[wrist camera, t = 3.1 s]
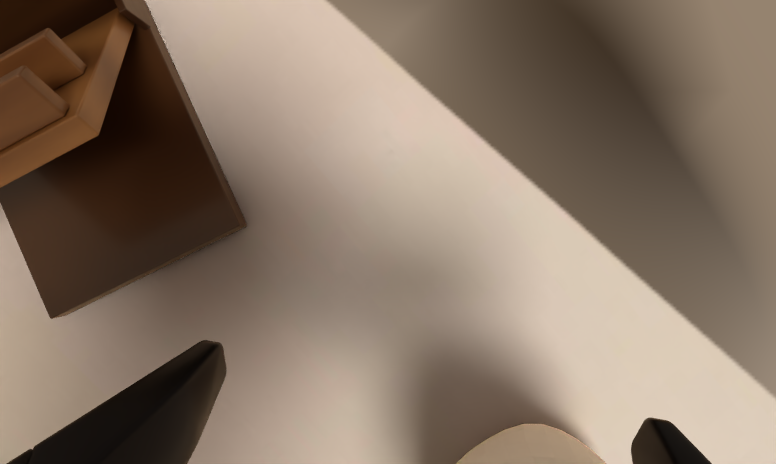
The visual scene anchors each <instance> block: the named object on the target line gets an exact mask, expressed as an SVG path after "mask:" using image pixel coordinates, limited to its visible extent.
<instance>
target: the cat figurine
mask: <svg viewBox="0 0 776 464" xmlns="http://www.w3.org/2000/svg"><path fill="white" fill-rule="evenodd" d="M456 464H606V463H605V462H604V461H603V460H602V459H601V458H600V457H599V456H598V455H597V454H596V453H595V452H594V451H593V450H591V449H590V448H589V447H587V446H586V445H585V444H583V443H582V442H581V441H579V440H578V439H576V438H575V437H573V436H571V435H569V434H567V433H565V432H564V431H562V430H560V429H556V428H553V427H550V426H547V425H544V424H521V425H518V426H515V427H511V428H508V429H505V430H503V431H501V432H499V433H497V434H495V435H494V436H492V437H490V438H488V439H486V440H485V441H483V442H482V443H480V444H479V445H477V446H476V447H474V448H473V449H471V450H470V451H469V452H468V453H467V454H466V455H465V456H463V457H462V458H461V459H460V460H459V461H458V462H457V463H456Z"/></svg>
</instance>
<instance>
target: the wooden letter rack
mask: <svg viewBox="0 0 776 464" xmlns="http://www.w3.org/2000/svg"><path fill="white" fill-rule="evenodd" d="M134 25H135V23H134V22H133V21H131V20H130V19H128V18H127V17H125V16H124V15H123V14H121V13H120V12H119V10H118V8H116V9H114V10H112V11H110V12H109V13H107V14H105V15H103V16H101V17H100V18H98V19H96V20H94V21H93V22H91V23H89V24H87V25H85V26H84V27H82V28H80V29H78V30H76V31H75V32H73V33H71V34H69V35H68V36H66V37H64V38H62V39H60V38H59V37H58V36H57V35H56V34H55V33H54V32H53V31H52V30H51V29H50V28H46V29H44V30H42V31H41V32H39V33H37V34H35V35H34V36H32V37H30V38H28V39H27V40H25V41H23V42H21V43H19V44H18V45H16V46H14V47H12V48H11V49H9V50H7V51H5V52H4V53H2V54H0V188H1V187H3V186H5V185H7V184H8V183H10V182H12V181H14V180H16V179H18V178H20V177H22V176H23V175H25V174H27V173H29V172H31V171H33V170H35V169H37V168H38V167H40V166H42V165H44V164H46V163H48V162H50V161H52V160H53V159H55V158H57V157H59V156H61V155H63V154H65V153H67V152H68V151H70V150H72V149H74V148H76V147H78V146H80V145H82V144H83V143H85V142H87V141H89V140H91V139H93V138H95V137H97V136H98V135H99V133H100V130H101V127H102V124H103V121H104V118H105V115H106V112H107V108H108V105H109V102H110V99H111V96H112V93H113V90H114V87H115V84H116V80H117V77H118V74H119V71H120V68H121V65H122V62H123V59H124V56H125V53H126V49H127V46H128V43H129V40H130V37H131V34H132V31H133V28H134Z"/></svg>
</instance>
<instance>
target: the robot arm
mask: <svg viewBox="0 0 776 464" xmlns="http://www.w3.org/2000/svg"><path fill="white" fill-rule="evenodd" d="M225 376H226V362H225V356H224V350H223V346H222V344H221V343H219V342H214V341H208V340H203V341H201V342H199V343H197V344H196V345H194V346H192V347H191V348H189V349H188V350H186V351H185V352H183V353H181V354H180V355H178V356H177V357H175V358H173V359H172V360H170V361H169V362H167V363H166V364H164V365H162V366H161V367H159V368H158V369H156V370H154V371H153V372H151V373H150V374H148V375H147V376H145V377H143V378H142V379H140V380H139V381H137V382H135V383H134V384H132V385H131V386H129V387H128V388H126V389H124V390H123V391H121V392H120V393H118V394H116V395H115V396H113V397H112V398H110V399H109V400H107V401H105V402H104V403H102V404H101V405H99V406H97V407H96V408H94V409H93V410H91V411H90V412H88V413H86V414H85V415H83V416H82V417H80V418H78V419H77V420H75V421H74V422H72V423H71V424H69V425H67V426H66V427H64V428H63V429H61V430H59V431H58V432H56V433H55V434H53V435H52V436H50V437H48V438H47V439H45V440H44V441H42V442H40V443H39V444H37V445H36V446H35V447H34V448H33V450H32V449H29V450H28V451H26V452H24V453H23V454H21V455H20V456H18V457H16V458H15V459H13V460H12V461H10V462H9V463H7V464H187V463H188V461H189V459H190V457H191V455H192V453H193V451H194V449H195V448H196V446H197V444H198V441H199V439H200V437H201V435H202V432H203V430H204V427H205V425H206V423H207V420H208V418H209V415H210V413H211V411H212V408H213V406H214V404H215V401H216V399H217V396H218V394H219V392H220V389H221V387H222V384H223V382H224V379H225ZM631 454H632V461H633V464H711V462H710V461H709V460H708V459H707V458H706V457H705V456H704V455H703V454H702V453H701V452H700V451H699V450H698V449H697V448H696V447H695V446H694V445H693V444H692V443H691V442H690V441H689V440H688V439H687V438H686V437H685V436H684V435H683V434H682V433H681V432H680V431H679V430H678V428H677V427H676V426H675V425H673V424H672V423H671V422H669V421H667V420H662V419H656V418H647V419H645V421H644V422H643V424H642V426H641V427H640V429H639V431H638V433H637V435H636V436H635V438H634V440H633V442H632V446H631Z"/></svg>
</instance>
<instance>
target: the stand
mask: <svg viewBox="0 0 776 464" xmlns="http://www.w3.org/2000/svg"><path fill="white" fill-rule="evenodd" d="M116 8H118V10H119V12H120V13H121V14H123V15H124V16H125V17H127V18H128V19H130V20H131V21H133V22H134V23H135V25H134V28H133V31H132V34H131V37H130V40H129V43H128V46H127V49H126V53H125V56H124V59H123V62H122V65H121V68H120V71H119V74H118V77H117V80H116V84H115V87H114V90H113V93H112V96H111V99H110V102H109V105H108V108H107V112H106V115H105V118H104V121H103V124H102V127H101V130H100V133H99V135H98V136H97V137H95V138H93V139H91V140H89V141H87V142H85V143H83V144H82V145H80V146H78V147H76V148H74V149H72V150H70V151H68V152H67V153H65V154H63V155H61V156H59V157H57V158H55V159H53V160H52V161H50V162H48V163H46V164H44V165H42V166H40V167H38V168H37V169H35V170H33V171H31V172H29V173H27V174H25V175H23V176H22V177H20V178H18V179H16V180H14V181H12V182H10V183H8V184H7V185H5V186H3V187H1V188H0V203H1V205H2V207H3V210H4V212H5V214H6V217H7V219H8V221H9V224H10V226H11V228H12V231H13V233H14V235H15V238H16V240H17V242H18V245H19V247H20V249H21V252H22V254H23V256H24V258H25V261H26V263H27V265H28V268H29V270H30V272H31V275H32V277H33V279H34V282H35V284H36V286H37V289H38V291H39V293H40V296H41V298H42V300H43V303H44V305H45V307H46V310H47V312H48V314H49V317H50V318H51V319H53V318H57V317H62V316H65V315H68V314H70V313H72V312H74V311H76V310H78V309H80V308H82V307H84V306H86V305H88V304H90V303H92V302H94V301H96V300H98V299H100V298H102V297H104V296H106V295H108V294H110V293H112V292H114V291H116V290H118V289H120V288H122V287H124V286H126V285H128V284H130V283H132V282H134V281H136V280H138V279H140V278H143V277H145V276H147V275H149V274H151V273H153V272H155V271H157V270H159V269H161V268H163V267H165V266H167V265H169V264H171V263H173V262H175V261H177V260H179V259H181V258H183V257H185V256H187V255H189V254H191V253H193V252H195V251H197V250H199V249H201V248H203V247H205V246H207V245H209V244H211V243H213V242H215V241H218V240H220V239H222V238H224V237H226V236H228V235H230V234H232V233H234V232H236V231H238V230H240V229H242V228H244V227H246V226H247V224H246V222H245V220H244V217H243V215H242V213H241V211H240V209H239V207H238V204H237V202H236V200H235V198H234V196H233V193H232V191H231V189H230V187H229V185H228V182H227V180H226V178H225V176H224V174H223V171H222V169H221V167H220V165H219V163H218V161H217V158H216V156H215V154H214V152H213V150H212V147H211V145H210V143H209V141H208V139H207V136H206V134H205V132H204V130H203V128H202V125H201V123H200V121H199V119H198V117H197V114H196V112H195V110H194V108H193V106H192V104H191V101H190V99H189V97H188V95H187V93H186V90H185V88H184V86H183V84H182V82H181V79H180V77H179V75H178V73H177V71H176V68H175V66H174V64H173V62H172V60H171V58H170V55H169V53H168V51H167V49H166V47H165V44H164V42H163V40H162V38H161V36H160V33H159V31H158V29H157V27H156V25H155V22H154V20H153V18H152V16H151V14H150V11H149V9H148V7H147V5H146V3H145V1H144V0H0V54H2V53H4V52H5V51H7V50H9V49H11V48H12V47H14V46H16V45H18V44H19V43H21V42H23V41H25V40H27V39H28V38H30V37H32V36H34V35H35V34H37V33H39V32H41V31H42V30H44V29H46V28H50V29H51V30H52V31H53V32H54V33H55V34H56V35H57V36H58V37H59V38H60V39H62V38H64V37H66V36H68V35H69V34H71V33H73V32H75V31H76V30H78V29H80V28H82V27H84V26H85V25H87V24H89V23H91V22H93V21H94V20H96V19H98V18H100V17H101V16H103V15H105V14H107V13H109V12H110V11H112V10H114V9H116Z"/></svg>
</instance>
